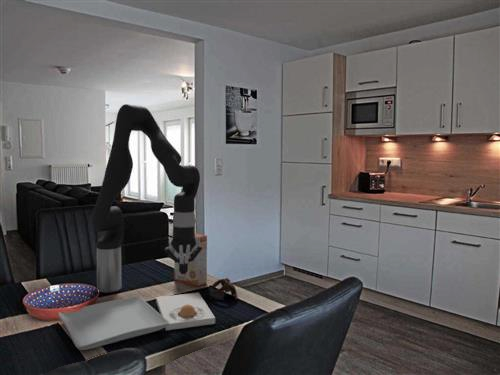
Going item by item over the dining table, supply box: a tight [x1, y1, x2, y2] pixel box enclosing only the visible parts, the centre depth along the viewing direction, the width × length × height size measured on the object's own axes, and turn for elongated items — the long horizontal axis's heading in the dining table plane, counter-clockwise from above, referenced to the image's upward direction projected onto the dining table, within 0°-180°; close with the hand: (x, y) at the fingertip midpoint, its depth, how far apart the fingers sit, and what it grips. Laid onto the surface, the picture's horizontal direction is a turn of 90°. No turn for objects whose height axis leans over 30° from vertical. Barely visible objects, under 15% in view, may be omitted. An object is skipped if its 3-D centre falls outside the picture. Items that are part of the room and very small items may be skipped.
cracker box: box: [173, 233, 208, 287], centre depth 170 cm, size 14×6×21 cm, turn 54°
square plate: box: [57, 295, 169, 351], centre depth 127 cm, size 27×27×4 cm
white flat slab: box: [155, 292, 216, 331], centre depth 139 cm, size 16×24×2 cm, turn 20°
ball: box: [180, 305, 195, 318], centre depth 133 cm, size 5×5×5 cm
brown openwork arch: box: [209, 277, 238, 301], centre depth 154 cm, size 12×10×8 cm
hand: (183, 273), depth 138 cm, fingers closed
